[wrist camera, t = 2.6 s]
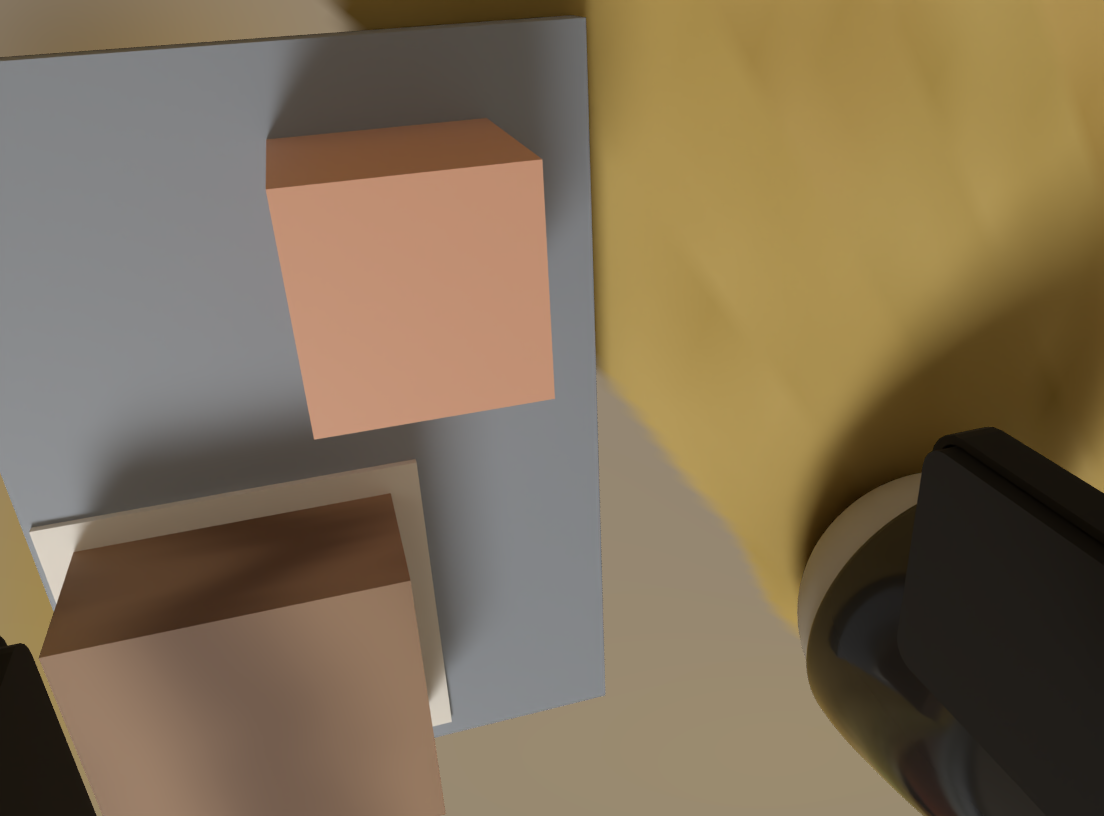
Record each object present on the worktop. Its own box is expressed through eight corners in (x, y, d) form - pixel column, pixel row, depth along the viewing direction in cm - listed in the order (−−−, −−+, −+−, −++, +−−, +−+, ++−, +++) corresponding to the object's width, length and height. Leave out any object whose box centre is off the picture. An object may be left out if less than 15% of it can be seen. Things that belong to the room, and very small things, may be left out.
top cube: (486, 118, 21) (542, 159, 17) (502, 317, 23) (554, 398, 19) (266, 139, 20) (266, 189, 16) (305, 346, 22) (314, 439, 18)
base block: (390, 493, 25) (410, 580, 21) (424, 709, 28) (445, 813, 25) (73, 552, 23) (38, 658, 19) (153, 774, 26) (135, 896, 23)
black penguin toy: (970, 642, 36) (1369, 1032, 23) (733, 683, 33) (1034, 1152, 20) (1043, 413, 32) (1588, 735, 19) (777, 438, 29) (1197, 836, 16)
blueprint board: (573, 15, 22) (588, 18, 21) (596, 674, 31) (607, 699, 30) (-134, 66, 18) (-158, 73, 17) (135, 786, 28) (130, 818, 27)
